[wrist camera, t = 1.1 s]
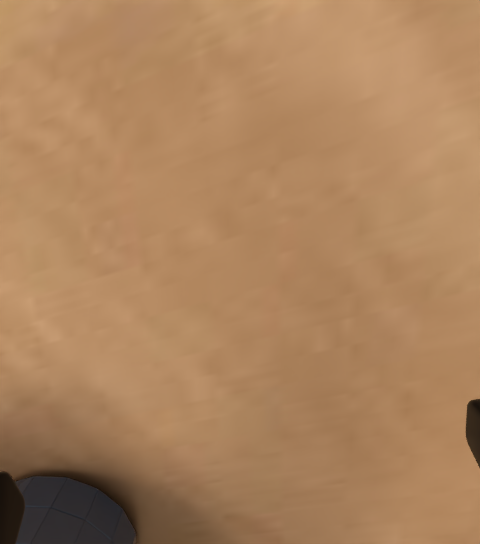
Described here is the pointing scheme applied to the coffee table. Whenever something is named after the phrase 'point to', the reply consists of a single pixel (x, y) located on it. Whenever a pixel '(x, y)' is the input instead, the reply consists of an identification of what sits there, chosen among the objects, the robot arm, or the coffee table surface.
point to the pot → (70, 514)
